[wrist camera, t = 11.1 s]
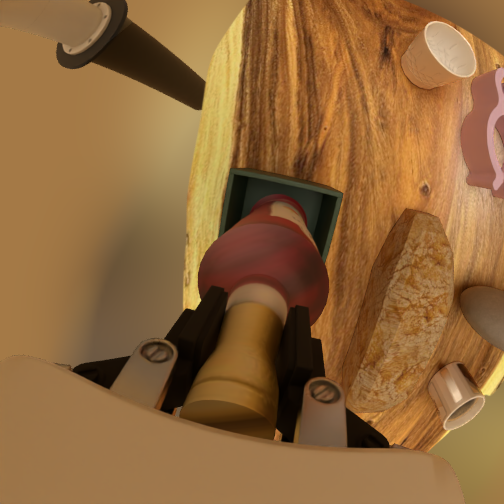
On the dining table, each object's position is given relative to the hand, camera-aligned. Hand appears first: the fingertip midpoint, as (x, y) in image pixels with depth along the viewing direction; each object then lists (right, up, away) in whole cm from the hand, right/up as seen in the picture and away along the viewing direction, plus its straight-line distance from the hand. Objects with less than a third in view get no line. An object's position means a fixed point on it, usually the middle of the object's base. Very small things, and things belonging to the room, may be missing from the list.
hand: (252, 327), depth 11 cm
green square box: (+4, +8, +25) cm, 26 cm away
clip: (+38, +22, +16) cm, 47 cm away
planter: (+40, -4, +24) cm, 47 cm away
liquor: (+3, +7, +21) cm, 23 cm away
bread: (+22, -8, +28) cm, 36 cm away
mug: (+41, -22, +29) cm, 55 cm away
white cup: (+24, +30, +15) cm, 41 cm away
